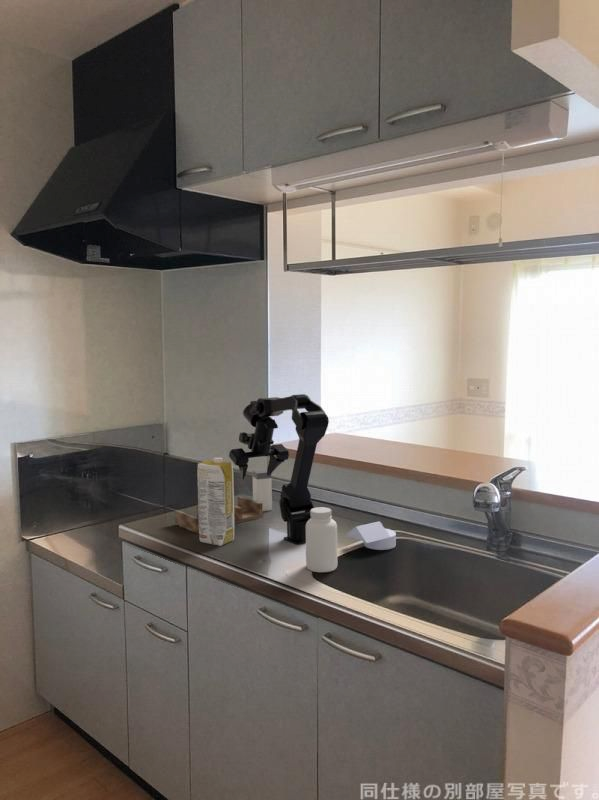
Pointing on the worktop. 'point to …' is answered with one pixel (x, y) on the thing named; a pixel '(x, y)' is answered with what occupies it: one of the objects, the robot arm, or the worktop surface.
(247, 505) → the comb rack
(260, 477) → the grey piece
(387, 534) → the wedge on round base
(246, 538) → the worktop surface
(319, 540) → the pill bottle
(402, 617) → the worktop surface
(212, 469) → the juice carton
